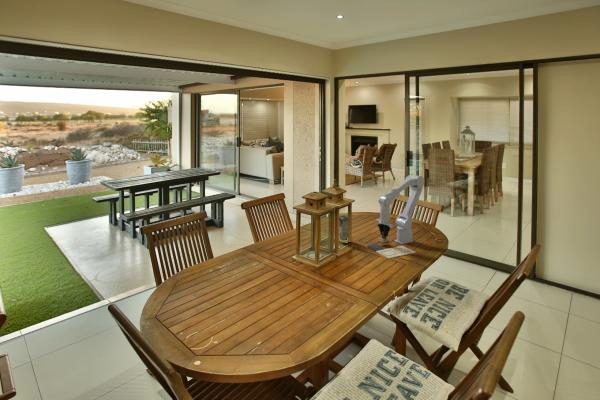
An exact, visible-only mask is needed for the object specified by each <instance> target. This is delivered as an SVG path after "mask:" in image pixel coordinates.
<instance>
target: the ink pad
mask: <svg viewBox="0 0 600 400" xmlns="http://www.w3.org/2000/svg"><path fill="white" fill-rule="evenodd" d="M366 247H367V248H368V249H369V250H371V251H372V252H376V251H379V250H384V247H383V246H381V245H379V244H377V243H375V244H368V245H366Z"/></svg>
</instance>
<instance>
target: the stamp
mask: <svg viewBox="0 0 600 400" xmlns="http://www.w3.org/2000/svg"><path fill="white" fill-rule="evenodd" d="M378 243H380V244H381V245H382V244H389V243H390V238H389V237H388V236H387V237H384V231H382V235H381V236H379V237H378Z"/></svg>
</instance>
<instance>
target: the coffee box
mask: <svg viewBox="0 0 600 400" xmlns="http://www.w3.org/2000/svg"><path fill="white" fill-rule="evenodd" d="M348 218H349V217H348V216H346V215H340V217H339V235H340V239H341V240H347V237H348Z"/></svg>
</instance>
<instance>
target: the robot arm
mask: <svg viewBox="0 0 600 400" xmlns="http://www.w3.org/2000/svg"><path fill="white" fill-rule="evenodd" d="M424 186H425V177H424V176H422V175H416V174H409V175H407V176H406V177H405V179H404V180H403V181H402V182H401V183H400V184H399V185H398V186H397V187H393V188H391V189H390V190H389V191H388V192H387V193H385V195H383V194H382V195H381V196H380V197H379V199H378V203H379V208H380V209H379V210H380V212H379V218H375V219H376V223H377V227H378V230H379V233H380V235H381V236H382V231H384V237H388V236H389V232H390V230H391V229H392V228H394V224H395V226H396V228H397V231H396V239H394V240H393V241H394V242H396V243H398V244H400V245H403V244H409V243H413V242H414V240H413V229H412V226H413V220H414V218H413V217H412V214H413V213H414V210H415V208H416V206H417V204H418V201H419V199H420V196H421V194H422V193H423V192H422V191H423V187H424ZM408 187H409V188H411V190H412V191H411V193H410V196H409V198H408V200H407V202H406V205H405V207H404V209H403V212H402V213H400V214H399V215H398V216H397V217H396V219H395V220H394V221H395V222H394V224H392V222H390V215H391V212H390V211H391V205H392V203H393V202H394V201H395V199H397V198H398V197H399V196H400V193H401V192H403V191H404V190H405V189H407V188H408Z"/></svg>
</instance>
